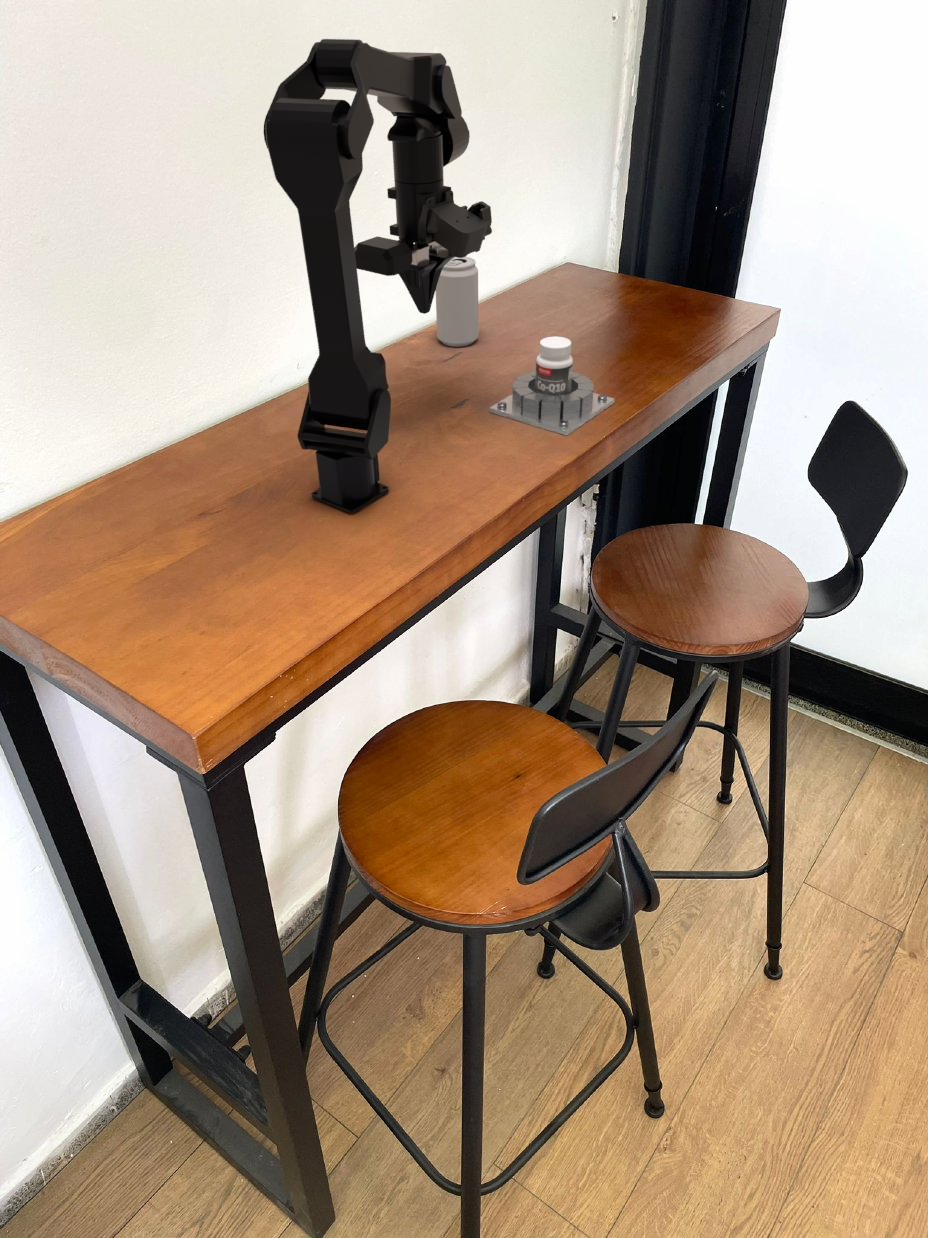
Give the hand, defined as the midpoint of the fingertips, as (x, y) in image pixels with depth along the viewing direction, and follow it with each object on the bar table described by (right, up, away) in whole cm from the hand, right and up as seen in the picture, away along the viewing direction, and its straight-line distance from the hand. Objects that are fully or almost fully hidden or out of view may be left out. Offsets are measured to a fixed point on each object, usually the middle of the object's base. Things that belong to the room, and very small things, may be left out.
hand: (424, 312), depth 116 cm
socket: (+17, -11, +6) cm, 21 cm away
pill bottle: (+17, -10, +6) cm, 21 cm away
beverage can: (+4, +4, +26) cm, 27 cm away
